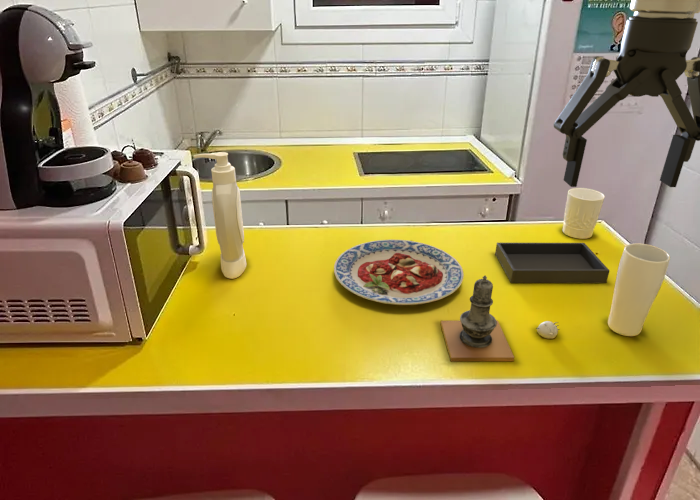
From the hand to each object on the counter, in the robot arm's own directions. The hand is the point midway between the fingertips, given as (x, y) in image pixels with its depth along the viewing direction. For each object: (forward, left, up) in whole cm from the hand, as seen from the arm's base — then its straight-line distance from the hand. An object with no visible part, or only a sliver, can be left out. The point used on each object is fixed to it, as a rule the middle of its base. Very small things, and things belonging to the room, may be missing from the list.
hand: (618, 183), depth 72 cm
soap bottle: (+62, -27, -29) cm, 74 cm away
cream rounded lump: (+3, -4, -29) cm, 29 cm away
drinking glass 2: (-11, -6, -29) cm, 31 cm away
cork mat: (+16, -2, -29) cm, 33 cm away
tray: (-5, -27, -29) cm, 40 cm away
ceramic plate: (+27, -23, -29) cm, 46 cm away
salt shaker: (+16, -2, -28) cm, 32 cm away
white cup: (-18, -44, -29) cm, 56 cm away
